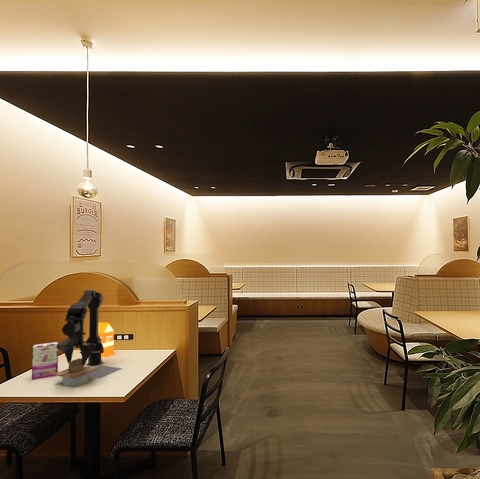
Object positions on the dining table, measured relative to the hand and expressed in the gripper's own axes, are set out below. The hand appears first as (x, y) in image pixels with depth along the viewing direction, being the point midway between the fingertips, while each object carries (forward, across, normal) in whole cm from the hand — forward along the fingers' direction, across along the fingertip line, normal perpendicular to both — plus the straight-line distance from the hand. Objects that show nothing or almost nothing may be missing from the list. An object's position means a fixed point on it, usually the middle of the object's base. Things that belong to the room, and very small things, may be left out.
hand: (76, 364), depth 156 cm
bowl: (+8, 0, 0) cm, 9 cm away
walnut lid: (+4, 0, 0) cm, 4 cm away
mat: (+8, 0, +15) cm, 17 cm away
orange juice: (+9, -22, +40) cm, 47 cm away
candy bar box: (+9, -21, 0) cm, 23 cm away
